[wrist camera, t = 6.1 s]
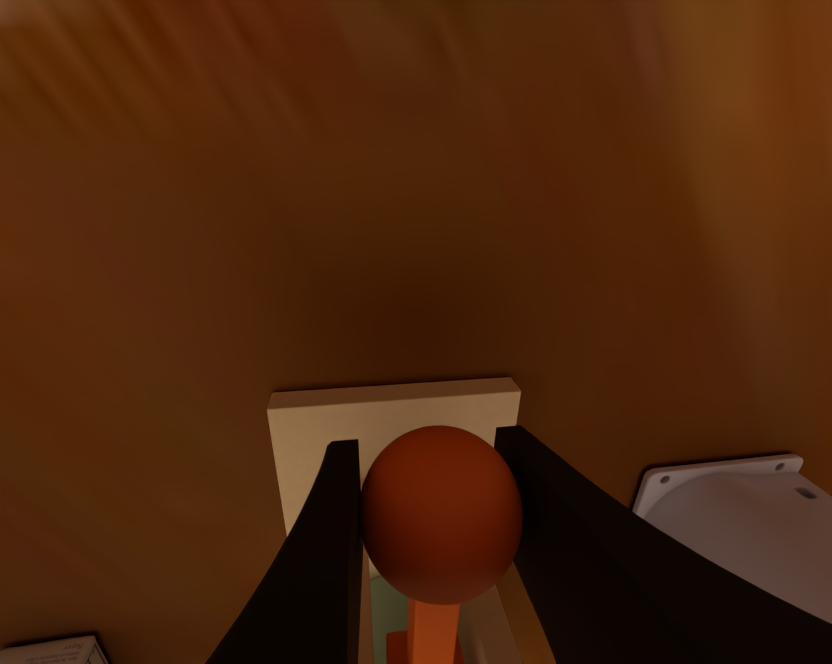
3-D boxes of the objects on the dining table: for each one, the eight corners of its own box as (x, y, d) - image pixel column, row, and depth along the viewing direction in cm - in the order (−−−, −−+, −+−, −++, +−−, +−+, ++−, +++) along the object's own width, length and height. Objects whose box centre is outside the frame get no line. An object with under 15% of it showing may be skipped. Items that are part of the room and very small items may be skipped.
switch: (353, 399, 9) (356, 534, 6) (498, 389, 9) (569, 508, 6) (367, 664, 14) (373, 812, 11) (463, 648, 14) (494, 785, 11)
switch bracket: (272, 391, 16) (178, 689, 7) (510, 376, 17) (677, 606, 9) (301, 587, 21) (267, 907, 12) (485, 562, 22) (576, 831, 14)
